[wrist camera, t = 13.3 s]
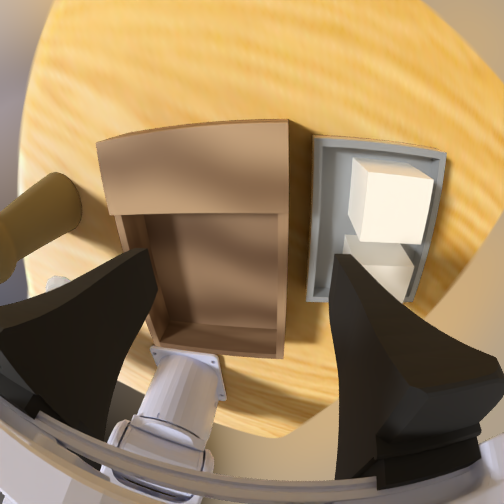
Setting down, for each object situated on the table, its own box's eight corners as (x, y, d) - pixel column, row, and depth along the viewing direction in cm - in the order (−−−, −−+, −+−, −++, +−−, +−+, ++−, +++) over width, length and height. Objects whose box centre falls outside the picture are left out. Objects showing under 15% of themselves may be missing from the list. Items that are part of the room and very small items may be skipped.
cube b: (408, 163, 16) (433, 179, 13) (400, 217, 18) (420, 244, 15) (352, 157, 17) (368, 171, 13) (347, 214, 19) (359, 241, 15)
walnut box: (285, 330, 25) (283, 363, 22) (167, 321, 27) (153, 349, 23) (288, 119, 16) (288, 122, 13) (126, 133, 18) (95, 142, 15)
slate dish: (406, 289, 21) (412, 301, 20) (305, 288, 23) (306, 301, 21) (435, 148, 15) (446, 152, 14) (312, 134, 17) (314, 137, 15)
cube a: (396, 237, 19) (414, 266, 15) (385, 281, 21) (398, 315, 17) (344, 234, 19) (355, 264, 16) (338, 280, 21) (344, 315, 18)
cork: (85, 185, 20) (-10, 248, 11) (79, 240, 23) (5, 311, 14) (42, 164, 20) (-48, 212, 10) (39, 217, 23) (-34, 274, 13)
